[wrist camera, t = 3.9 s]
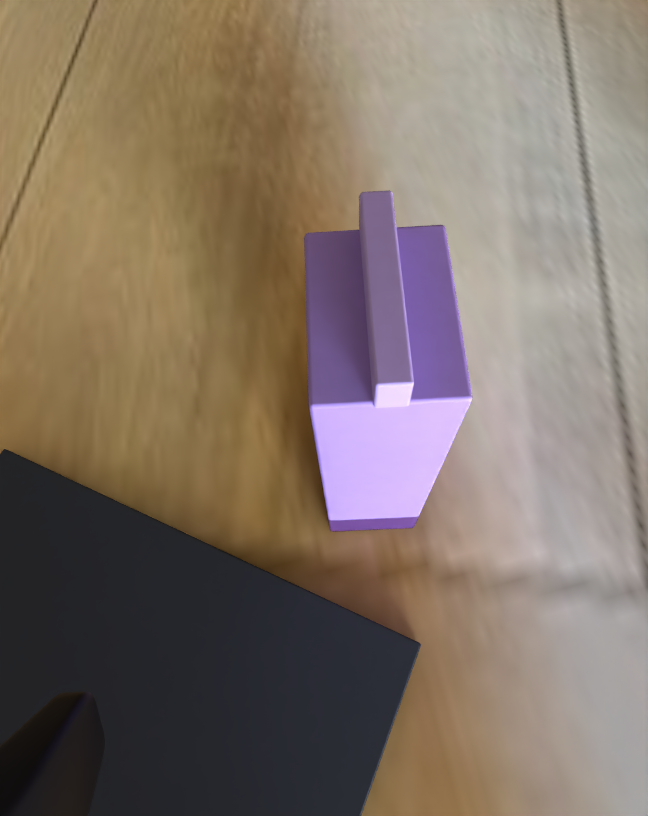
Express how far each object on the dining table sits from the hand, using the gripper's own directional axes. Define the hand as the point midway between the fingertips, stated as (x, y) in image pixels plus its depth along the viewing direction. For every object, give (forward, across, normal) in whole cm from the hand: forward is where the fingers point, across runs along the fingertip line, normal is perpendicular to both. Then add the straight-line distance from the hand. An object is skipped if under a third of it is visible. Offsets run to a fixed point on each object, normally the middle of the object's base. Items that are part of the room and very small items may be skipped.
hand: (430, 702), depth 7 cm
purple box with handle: (+14, 0, +4) cm, 15 cm away
